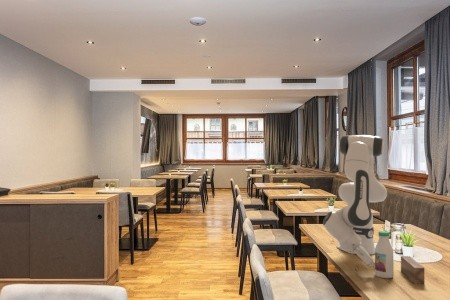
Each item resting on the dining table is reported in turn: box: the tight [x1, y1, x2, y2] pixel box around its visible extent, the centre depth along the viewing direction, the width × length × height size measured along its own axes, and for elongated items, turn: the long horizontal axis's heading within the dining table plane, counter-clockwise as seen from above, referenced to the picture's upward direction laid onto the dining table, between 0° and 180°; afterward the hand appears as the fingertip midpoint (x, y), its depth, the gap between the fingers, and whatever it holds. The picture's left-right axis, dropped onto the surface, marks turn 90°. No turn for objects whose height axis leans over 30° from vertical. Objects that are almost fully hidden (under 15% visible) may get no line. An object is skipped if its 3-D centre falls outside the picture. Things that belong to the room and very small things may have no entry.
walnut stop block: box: [400, 255, 425, 285], centre depth 165 cm, size 4×18×7 cm, turn 171°
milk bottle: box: [374, 230, 395, 279], centre depth 167 cm, size 8×8×20 cm
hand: (373, 264), depth 168 cm, fingers closed, pressing on milk bottle
